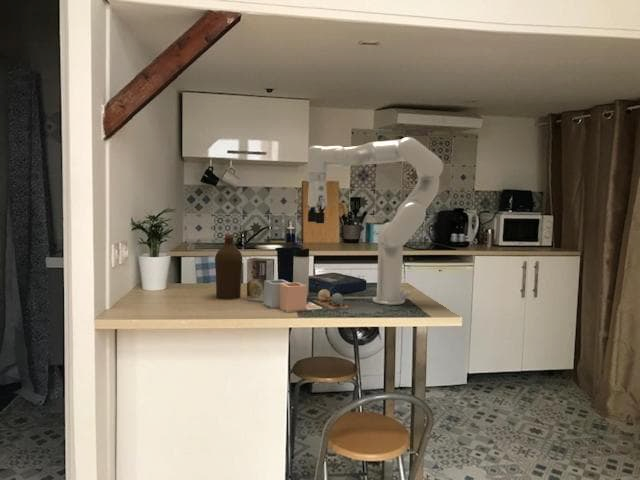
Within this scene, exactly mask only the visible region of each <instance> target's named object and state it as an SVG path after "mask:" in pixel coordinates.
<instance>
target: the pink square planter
mask: <svg viewBox="0 0 640 480" xmlns="http://www.w3.org/2000/svg"><path fill="white" fill-rule="evenodd" d="M307 299H308V298H307V286H306V285H304V284H301V283H298V282H296V283H293V282H290V283H280V290H279V308H278V309H280V310H282V311H284V312H286V313H294V312H305V311H307V310H306V301H307Z"/></svg>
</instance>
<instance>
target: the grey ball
mask: <svg viewBox="0 0 640 480" xmlns="http://www.w3.org/2000/svg"><path fill="white" fill-rule="evenodd" d="M330 299H331V302H332V303H333V304H334V305H335V304H336V305H337V306H338V305H341V304H344V296H343V295H342V294H341V293H339V292H335V293H334V294H332V295H331V296H330Z"/></svg>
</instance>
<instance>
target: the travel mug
mask: <svg viewBox="0 0 640 480" xmlns="http://www.w3.org/2000/svg"><path fill="white" fill-rule="evenodd" d="M292 265H293V267H292V269H293V274H292V283H296V282H298V283H301V284H304V285H306V286H307V299H308V298H309V279H310V277H309V276H310V248H303V249H300V248H299V249H294V250H293V264H292Z"/></svg>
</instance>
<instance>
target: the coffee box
mask: <svg viewBox="0 0 640 480" xmlns="http://www.w3.org/2000/svg"><path fill="white" fill-rule="evenodd" d="M266 280H275V258H265V257H252V258H249V259H246V301H253V302H263V303H264V281H266Z"/></svg>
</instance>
